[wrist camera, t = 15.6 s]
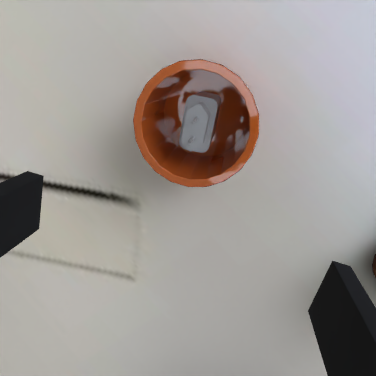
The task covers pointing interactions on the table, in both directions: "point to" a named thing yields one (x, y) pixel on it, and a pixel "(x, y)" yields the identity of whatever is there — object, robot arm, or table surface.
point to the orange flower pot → (173, 116)
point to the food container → (374, 265)
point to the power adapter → (199, 121)
